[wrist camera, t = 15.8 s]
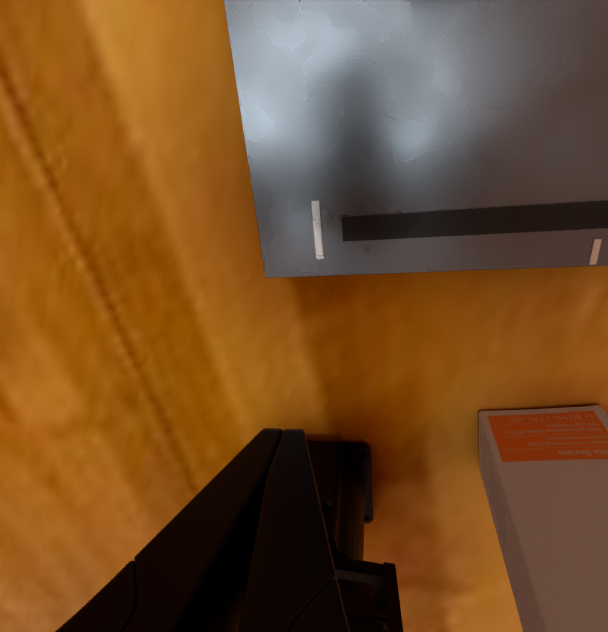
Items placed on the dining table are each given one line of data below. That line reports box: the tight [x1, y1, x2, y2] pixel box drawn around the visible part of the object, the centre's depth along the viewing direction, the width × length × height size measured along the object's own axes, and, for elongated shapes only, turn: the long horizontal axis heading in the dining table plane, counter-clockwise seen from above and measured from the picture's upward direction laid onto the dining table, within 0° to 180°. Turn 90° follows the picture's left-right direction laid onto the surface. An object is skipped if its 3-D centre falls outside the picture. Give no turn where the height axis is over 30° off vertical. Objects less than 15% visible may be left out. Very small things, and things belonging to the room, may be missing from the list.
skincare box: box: [478, 405, 608, 632], centre depth 18 cm, size 6×4×12 cm
